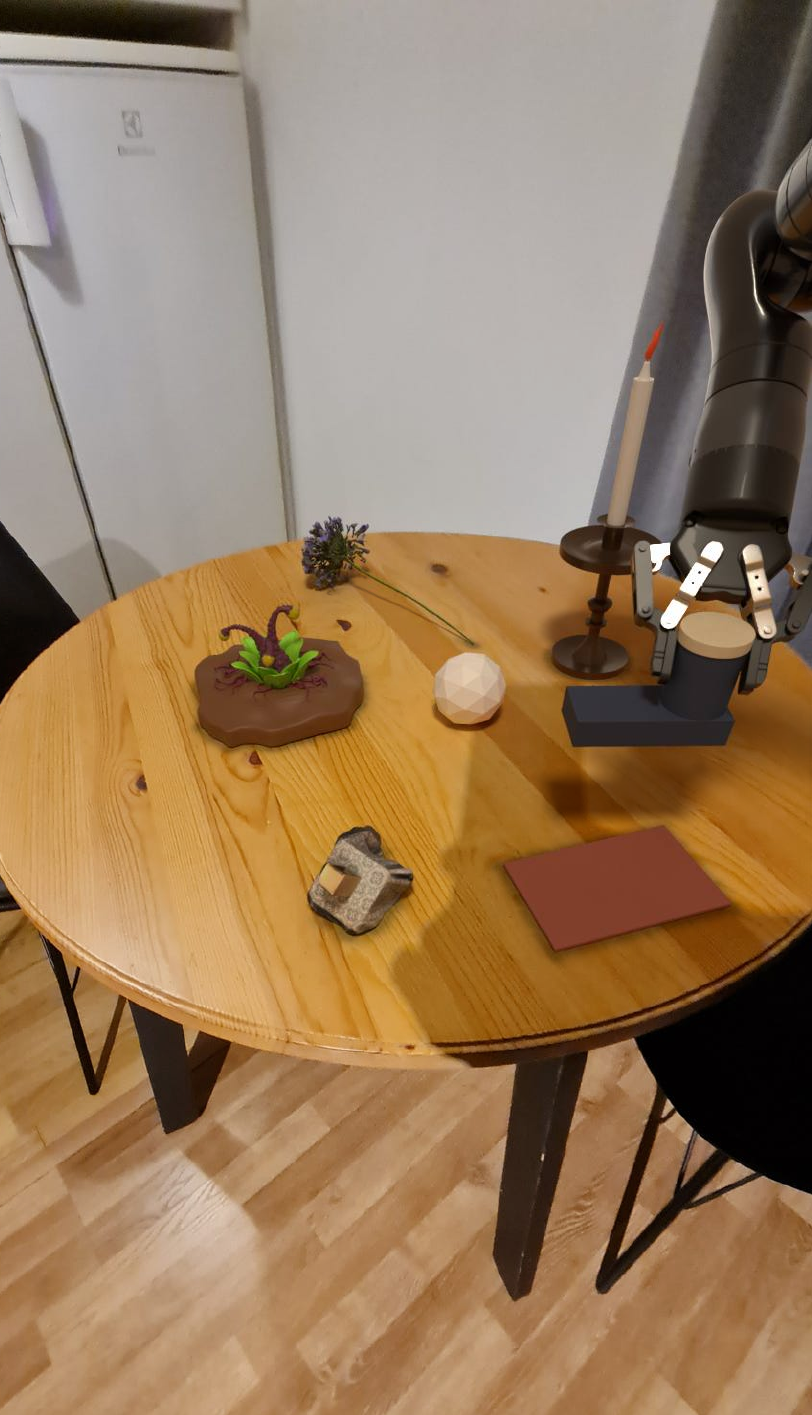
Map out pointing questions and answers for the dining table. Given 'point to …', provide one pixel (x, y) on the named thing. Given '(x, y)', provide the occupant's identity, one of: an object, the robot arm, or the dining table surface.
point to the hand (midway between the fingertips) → (704, 686)
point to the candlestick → (608, 548)
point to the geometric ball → (469, 688)
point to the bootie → (669, 693)
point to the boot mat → (613, 887)
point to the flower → (339, 555)
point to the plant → (277, 687)
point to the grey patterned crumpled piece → (358, 882)
